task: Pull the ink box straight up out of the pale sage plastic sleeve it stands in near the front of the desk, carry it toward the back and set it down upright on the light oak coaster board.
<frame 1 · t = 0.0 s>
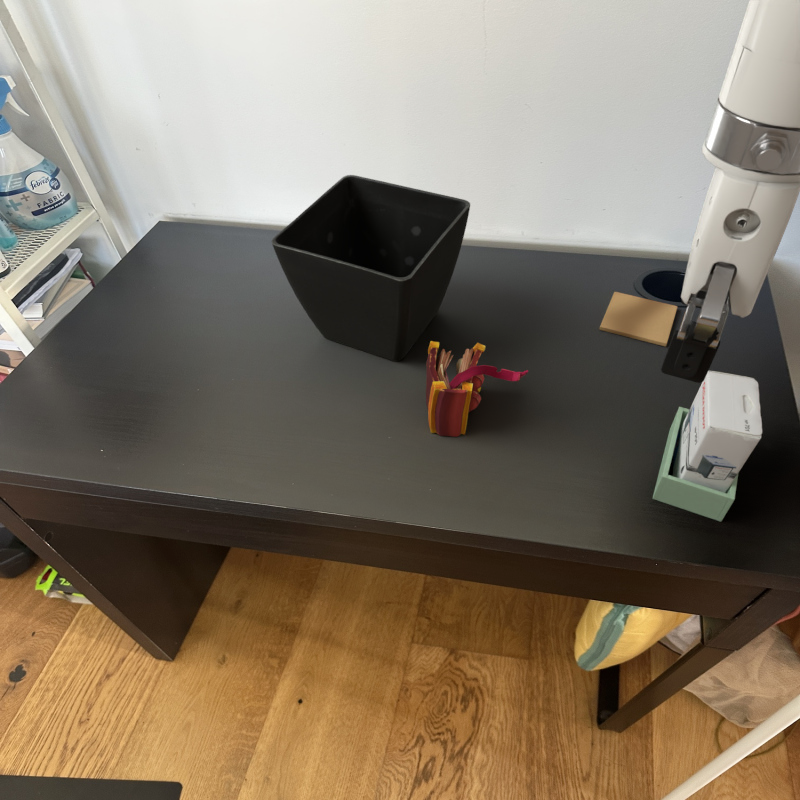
hand: (690, 339, 52), 22 cm above the table, tool pointing down, fingers open, 9 cm apart
sleeve: (693, 472, 70), on the table
ink box: (695, 475, 70), resting in sleeve
book monster: (469, 415, 77), on the table
flower pot: (381, 326, 90), on the table
coaster board: (638, 319, 89), on the table
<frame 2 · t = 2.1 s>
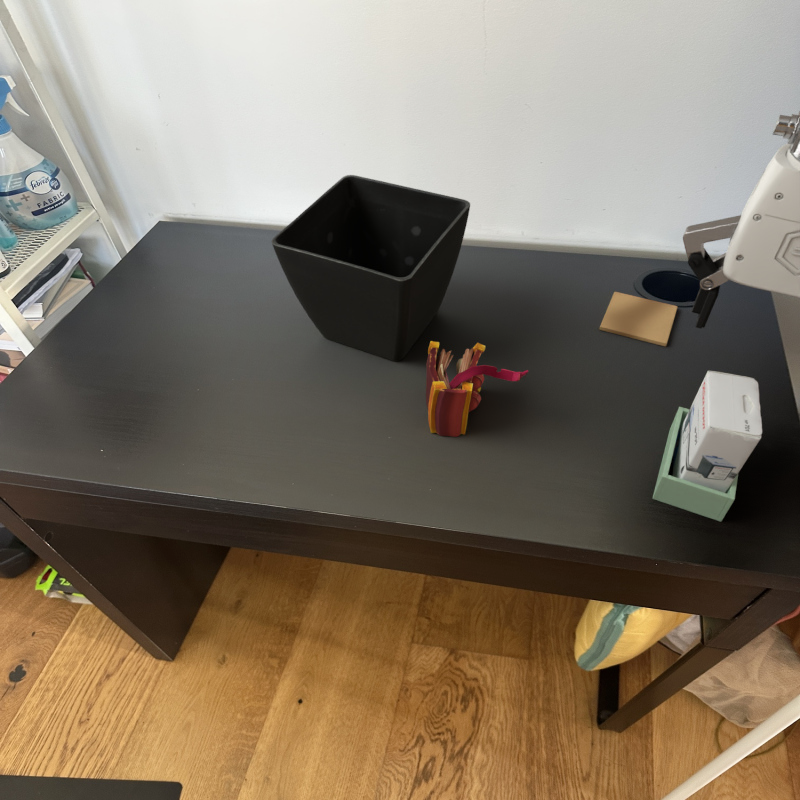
hand: (758, 333, 56), 20 cm above the table, tool pointing down, fingers open, 9 cm apart
nothing on the table moved.
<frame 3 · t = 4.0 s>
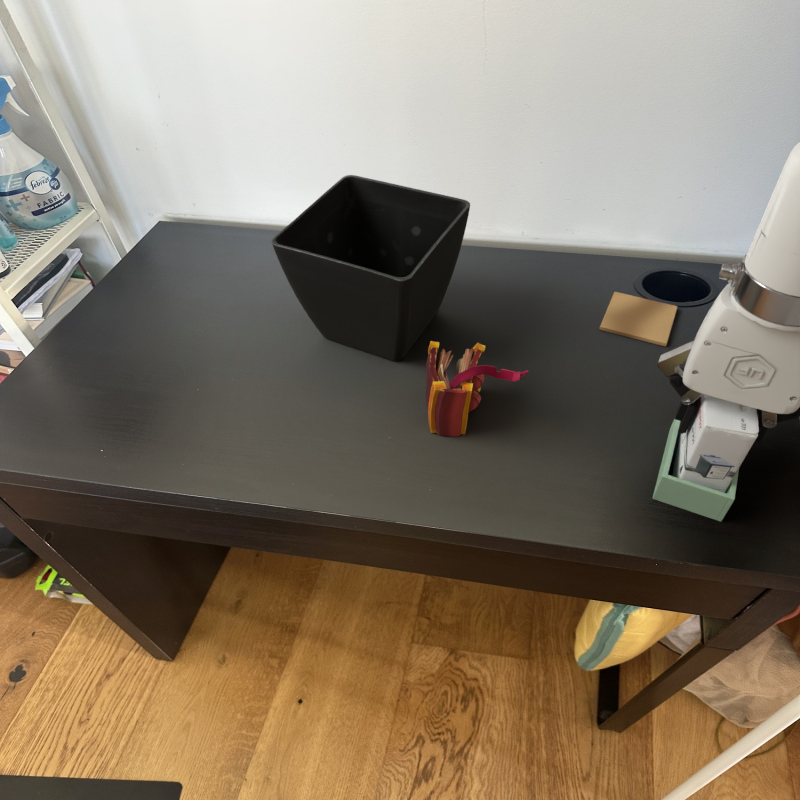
hand: (714, 432, 65), 7 cm above the table, tool pointing down, fingers closed on ink box, 5 cm apart
ink box: (695, 474, 70), resting in sleeve, touching gripper
everything else where it was.
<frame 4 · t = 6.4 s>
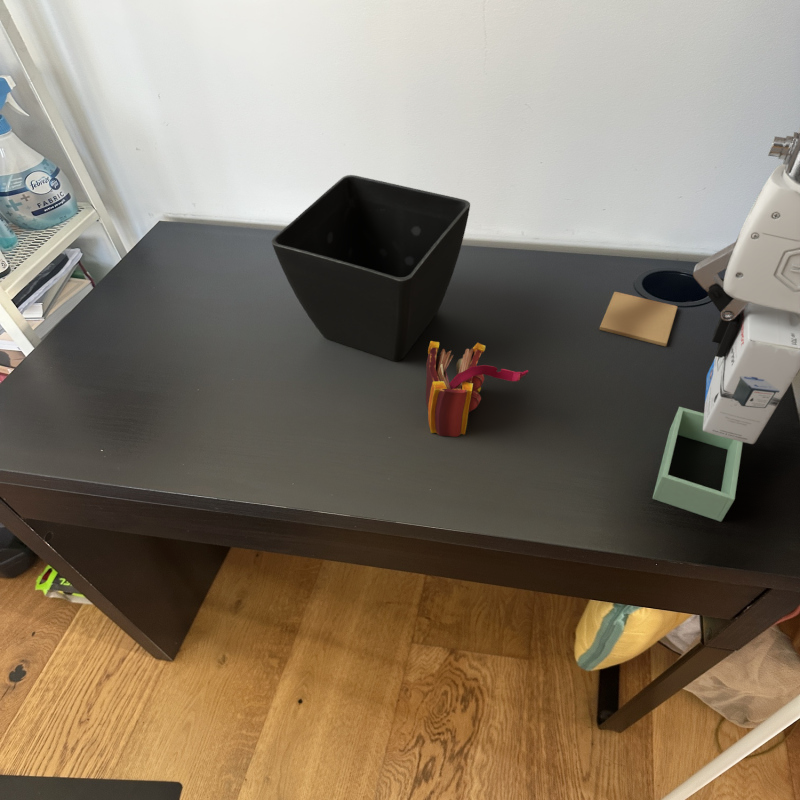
hand: (756, 355, 57), 18 cm above the table, tool pointing down, fingers closed on ink box, 5 cm apart
ink box: (730, 410, 62), point 11 cm above the table, touching gripper
everything else where it was.
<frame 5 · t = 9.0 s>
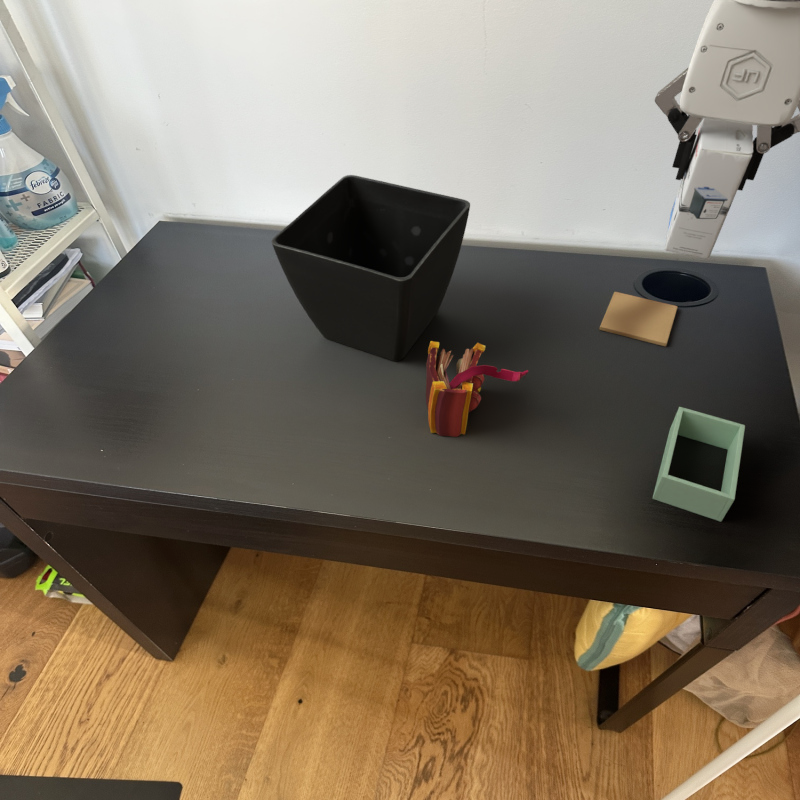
hand: (710, 177, 66), 25 cm above the table, tool pointing down, fingers closed on ink box, 5 cm apart
ink box: (689, 237, 71), point 18 cm above the table, touching gripper
everything else where it was.
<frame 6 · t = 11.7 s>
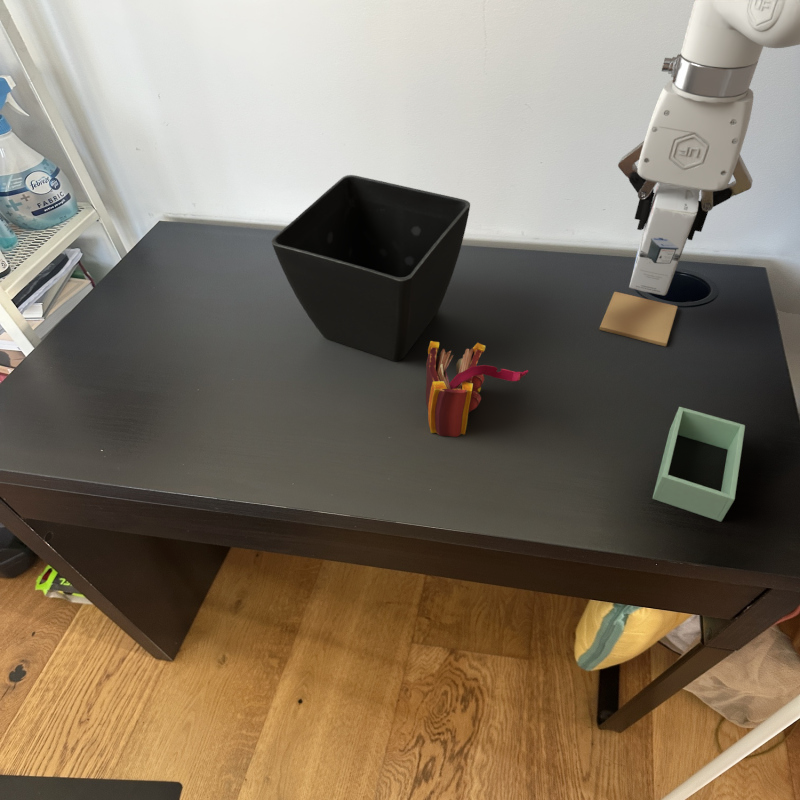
hand: (666, 228, 78), 15 cm above the table, tool pointing down, fingers closed on ink box, 5 cm apart
ink box: (651, 276, 83), point 7 cm above the table, touching gripper
everything else where it was.
when the fingers open (7 cm above the table, at t = 13.8 s): ink box stays where it is, resting on coaster board.
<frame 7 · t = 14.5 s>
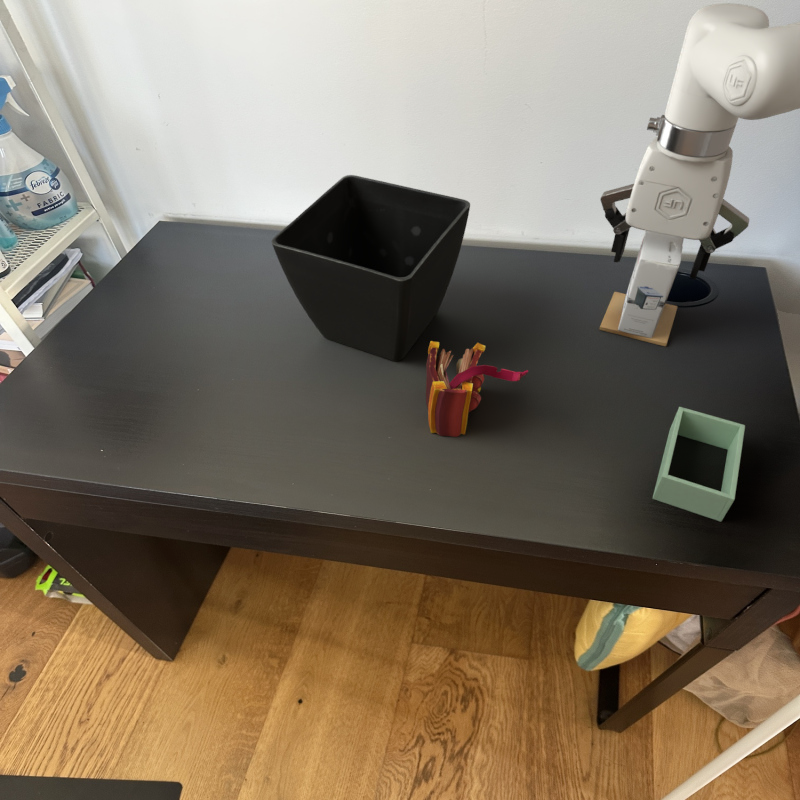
hand: (655, 265, 82), 9 cm above the table, tool pointing down, fingers open, 9 cm apart
ink box: (639, 318, 88), resting on coaster board
everything else where it was.
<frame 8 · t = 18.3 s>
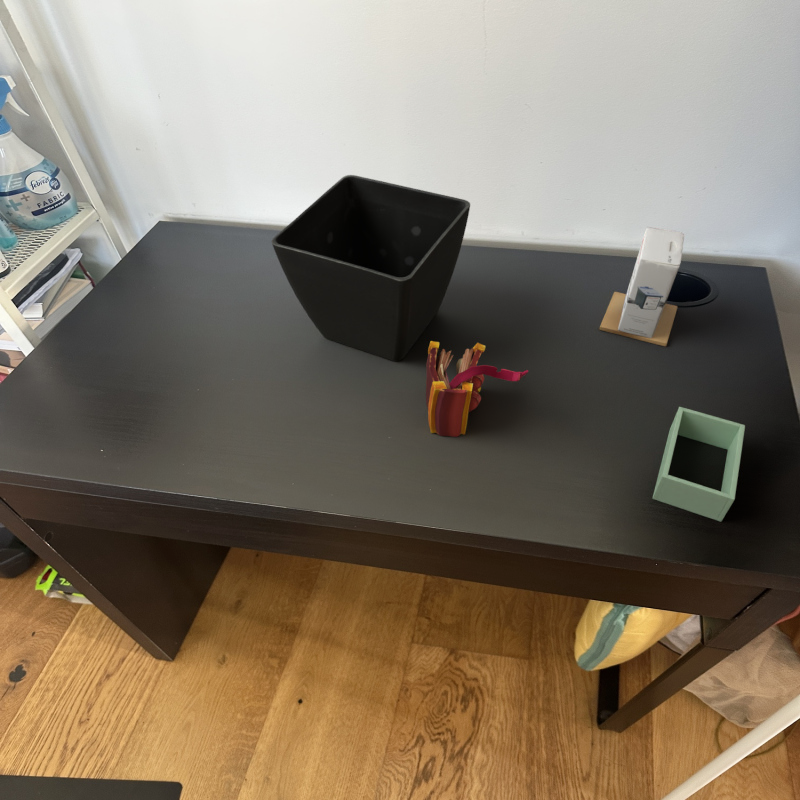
nothing on the table moved.
at the end: ink box 0.3 cm off-centre on the coaster board, point 0.4 cm above the coaster board's base; ink box tilted 0°; ink box touching coaster board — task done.
